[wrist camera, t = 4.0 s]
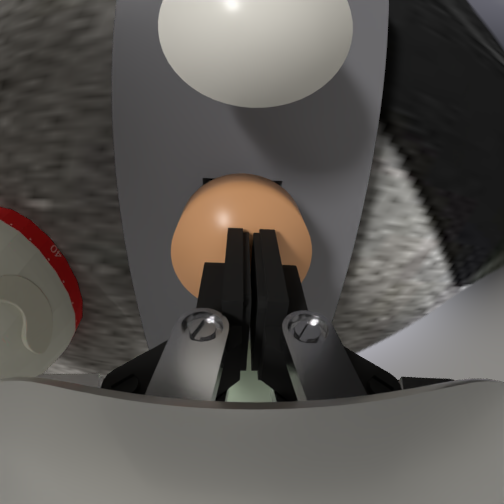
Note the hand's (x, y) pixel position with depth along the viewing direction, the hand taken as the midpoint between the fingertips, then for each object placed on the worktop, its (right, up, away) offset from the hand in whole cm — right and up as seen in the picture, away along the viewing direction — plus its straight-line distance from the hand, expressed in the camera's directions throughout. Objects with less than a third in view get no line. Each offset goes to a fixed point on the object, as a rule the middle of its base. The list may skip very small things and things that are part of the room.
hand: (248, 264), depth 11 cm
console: (-1, +4, +6) cm, 7 cm away
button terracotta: (0, +3, +4) cm, 5 cm away
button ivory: (0, +9, -1) cm, 9 cm away
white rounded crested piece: (-20, -2, +9) cm, 22 cm away
